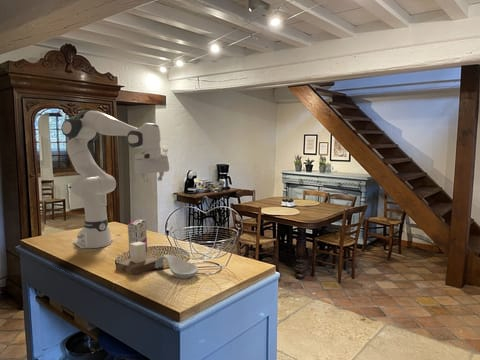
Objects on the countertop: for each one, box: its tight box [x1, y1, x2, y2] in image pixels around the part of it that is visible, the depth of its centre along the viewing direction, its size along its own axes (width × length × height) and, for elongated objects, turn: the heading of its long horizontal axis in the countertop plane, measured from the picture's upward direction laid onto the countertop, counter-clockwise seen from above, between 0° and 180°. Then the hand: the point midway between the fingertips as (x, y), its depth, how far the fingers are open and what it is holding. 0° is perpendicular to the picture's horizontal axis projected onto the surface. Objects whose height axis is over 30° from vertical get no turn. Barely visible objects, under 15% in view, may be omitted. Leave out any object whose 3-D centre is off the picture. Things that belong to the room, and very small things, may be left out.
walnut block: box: [115, 255, 159, 277], centre depth 166 cm, size 14×14×4 cm
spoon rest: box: [155, 254, 200, 280], centre depth 159 cm, size 24×12×7 cm, turn 53°
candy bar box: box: [127, 218, 148, 256], centre depth 187 cm, size 11×5×16 cm, turn 168°
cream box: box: [129, 242, 147, 263], centre depth 165 cm, size 5×5×8 cm
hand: (152, 181), depth 187 cm, fingers open, 8 cm apart
